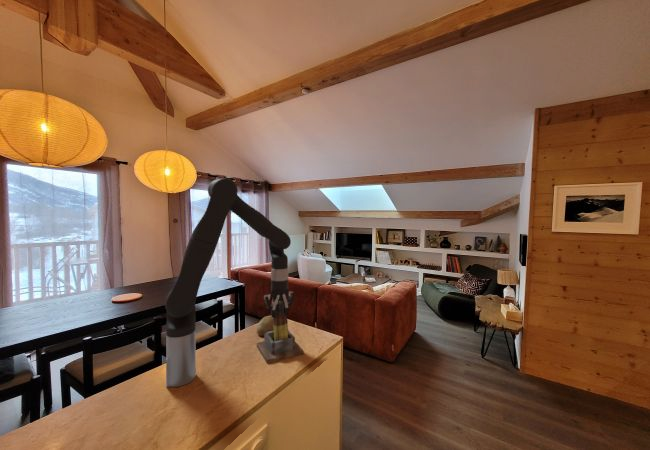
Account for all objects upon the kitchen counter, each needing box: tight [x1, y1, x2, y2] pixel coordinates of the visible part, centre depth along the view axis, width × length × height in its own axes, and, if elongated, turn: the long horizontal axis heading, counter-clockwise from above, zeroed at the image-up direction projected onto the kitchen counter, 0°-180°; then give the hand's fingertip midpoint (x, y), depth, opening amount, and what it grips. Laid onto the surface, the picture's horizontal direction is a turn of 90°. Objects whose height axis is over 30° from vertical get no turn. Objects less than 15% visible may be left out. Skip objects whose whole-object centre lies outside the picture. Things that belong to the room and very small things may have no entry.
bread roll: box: [256, 314, 274, 337], centre depth 134 cm, size 10×15×8 cm, turn 145°
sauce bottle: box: [273, 301, 289, 342], centre depth 116 cm, size 7×6×20 cm
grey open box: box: [256, 330, 304, 364], centre depth 116 cm, size 16×16×6 cm
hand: (279, 316), depth 115 cm, fingers closed on sauce bottle, 4 cm apart
